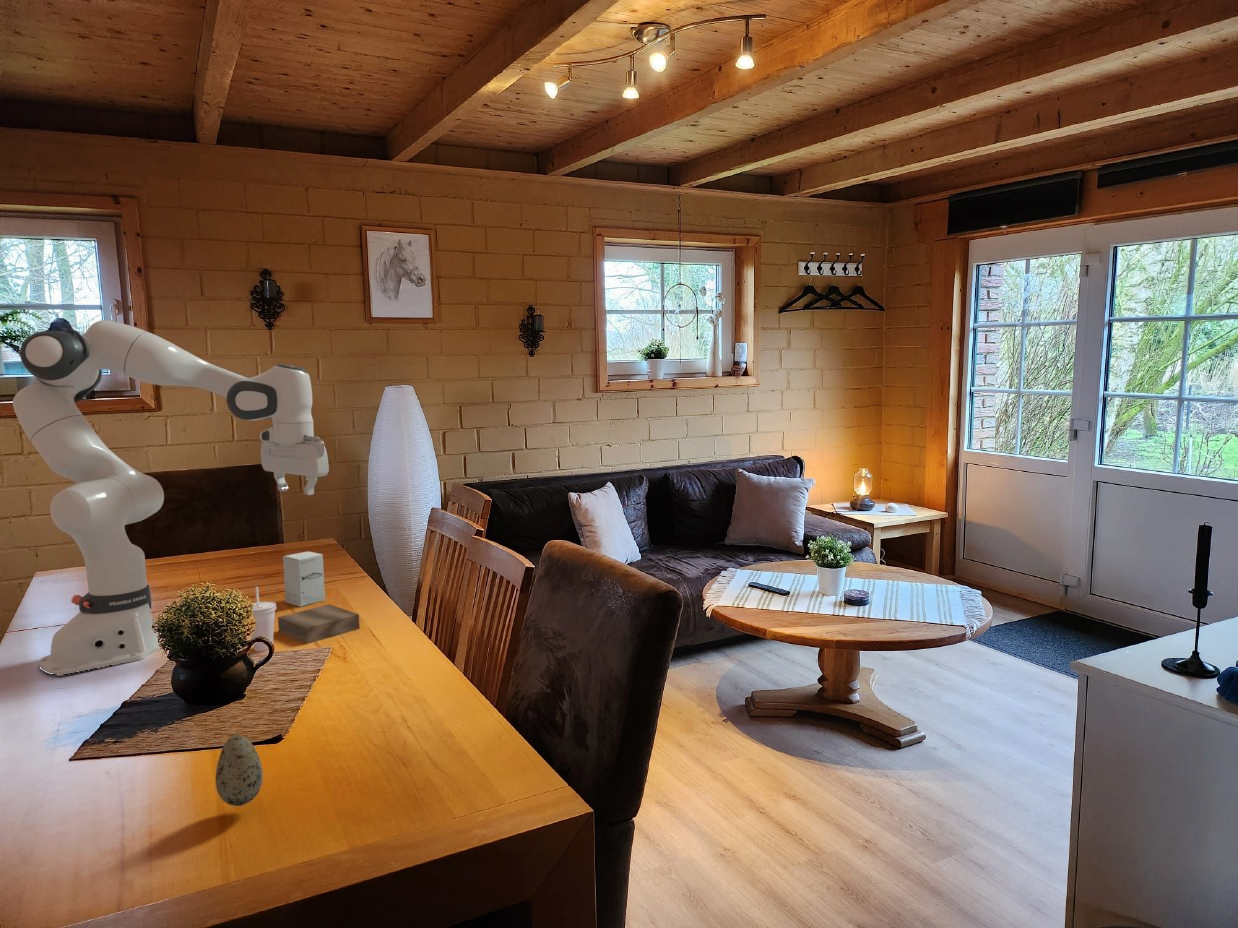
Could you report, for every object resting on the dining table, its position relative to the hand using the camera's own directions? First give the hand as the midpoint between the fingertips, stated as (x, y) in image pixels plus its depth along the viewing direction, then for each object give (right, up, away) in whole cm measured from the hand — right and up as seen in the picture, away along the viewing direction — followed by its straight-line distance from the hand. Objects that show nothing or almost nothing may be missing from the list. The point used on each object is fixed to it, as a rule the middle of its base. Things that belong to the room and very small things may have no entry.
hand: (295, 492), depth 190 cm
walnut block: (+7, -33, -2) cm, 33 cm away
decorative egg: (+23, -41, -77) cm, 91 cm away
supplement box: (-6, -30, +21) cm, 37 cm away
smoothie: (-1, -34, -14) cm, 37 cm away
